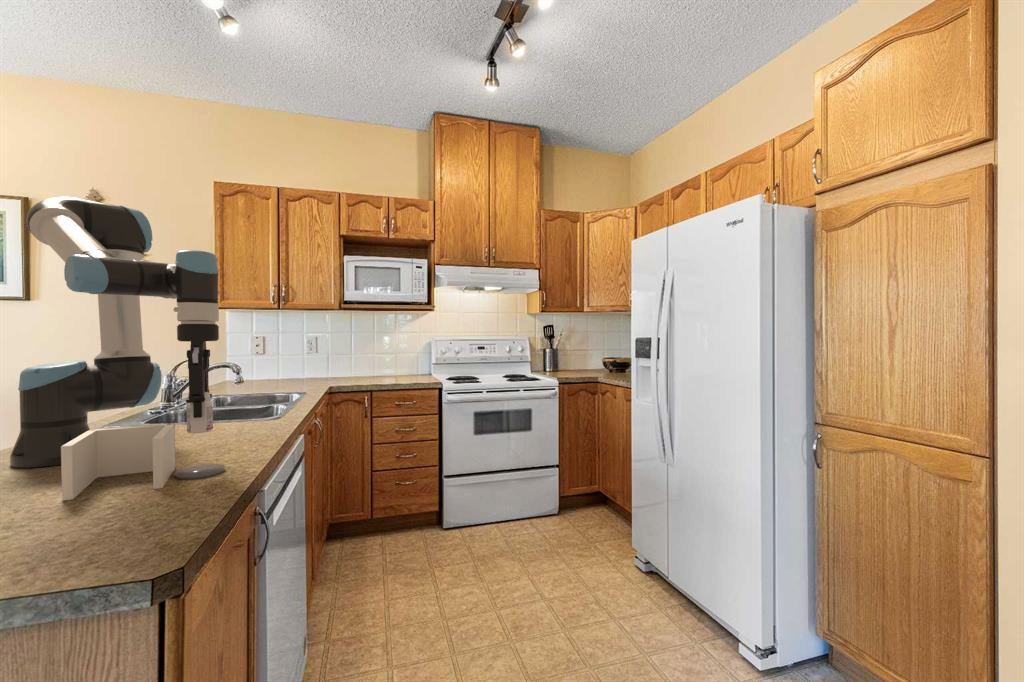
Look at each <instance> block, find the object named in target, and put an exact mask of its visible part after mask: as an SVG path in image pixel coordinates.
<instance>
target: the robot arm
mask: <svg viewBox="0 0 1024 682" xmlns="http://www.w3.org/2000/svg"><path fill="white" fill-rule="evenodd" d="M25 219H26V220H25V223H26V226H27V228H28V231H29V232H30V233H31V235H33V237H34V238H36V240H38V241H39V242H40V243H42V244H44V245H47V246H49V247H50V248H51V250H53V251H54V252H55V253H56V254H57V255H58V256H59V258H60V259H61V260H62V261H63V262H64V263H65V264H64V268H63V269H64V271H63V275H64V281H65V282H66V283H65V284H66V286H67V288H68V289H69V290H71V291H72V292H76V293H85V294H89V295H97V302H98V303H97V304H98V305H97V306H98V319H99V321H98V322H99V334H100V335H99V336H100V352H99V353H98V354H97V355H96V356H95V357H94V358H93V365H88V363H87V361H86V360H82V359H81V360H77V359H76V360H69V361H66V360H65V361H58V362H57V361H56V362H50V363H43V364H39V365H38V364H37V365H33V366H29V367H26V368H24V369H23V370H22V371H21V372H20V375H19V380H18V381H19V383H18V388H17V390H18V391H19V421H20V422H19V423H20V426H19V427H20V429H19V430H20V431H19V434H18V437H17V439H16V442H15V443H14V446H13V449H12V451H11V454H9V455H10V456H9V461H10V462H9V463H10V464H9V465H10V466H11V467H13V468H21V469H23V468H24V469H26V468H28V469H30V468H42V467H43V468H44V467H52V466H59V465H61V446H63V445H64V444H66V443H68V442H69V441H71V440H73V439H75V438H76V437H78V436H80V435H81V434H83V433H85V432H86V431H88V430H91V428H90V426H89V424H88V413H91V412H100V411H108V410H109V411H111V410H118V409H126V408H128V409H129V408H131V409H132V408H136V407H140V406H147V405H149V404H152V403H153V402H154V401H155V400H156V398H157V397H158V395H159V393H160V389H161V386H162V379H163V378H162V377H163V375H162V370H161V367H160V365H159V364H158V363H157V362H154V361H151V360H152V359H151V355H150V354H149V353H147V352H146V351H145V350H144V349H143V348H144V346H143V345H144V344H143V343H144V342H143V331H142V329H143V327H142V314H141V300H140V299H141V298H140V296H141V297H155V298H157V297H159V298H163V299H176V306H177V307H176V306H175V307H174V308H173V312H174V313H177V315H176V319H177V321H178V322H180V324H179V323H178V324H177V325H176V327H177V328H176V340H177V341H178V342H189V343H190V347H189V348H190V349H188V350H186V358H187V369H188V394H189V399H185V403H186V404H187V403H190V420H191V433H190V434H192V433H195V434H203V433H202V432H204V433H207V432H206V401H205V392H210V390H209V388H210V387H209V369H210V357H211V349H207V342H216V341H218V340H219V339H220V333H219V332H220V331H219V330H220V329H219V328H220V327H219V325H218V324H217V322H219V319H220V317H219V315H220V314H219V313H220V312H219V309H220V308H219V306H220V305H219V269H218V268H219V267H218V259H217V258H218V257H217V256H216V255H215V254H214V253H212V252H209V251H204V250H191V249H190V250H189V249H188V250H187V249H185V250H179V251H177V252H176V254H175V261H174V263H166V262H165V263H164V262H155V261H146V260H142V259H144V258H145V255H144V254H145V253H148V252H149V251H150V250H151V248H152V245H153V244H152V242H153V230H152V227H151V224H150V221H149V219H148V217H147V216H146V215H145V214H144V213H143V212H142V211H140V210H139V209H135V208H131V207H126V206H124V205H118V204H117V205H115V204H109V203H104V202H99V201H93V200H88V199H81V198H78V197H70V196H59V197H58V196H57V197H50V198H45V199H44V200H40V201H38V202H37V203H35V204H34V205H33V206H32V207H31V208H30V209H29V210H28V212H27V214H26V217H25ZM212 397H213V393H210V398H212Z"/></svg>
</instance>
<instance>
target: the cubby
mask: <svg viewBox="0 0 1024 682" xmlns="http://www.w3.org/2000/svg"><path fill="white" fill-rule="evenodd" d="M176 458H177V457H176V423H163V424H162V423H161V424H149V425H137V426H123V427H122V426H121V427H110V428H98V429H90V430H88V431H86V432H85V433H83V434H81V435H80V436H78V437H76V438H75V439H73V440H71V441H69V442H68V443H66V444H64V445H63V446H61V464H60V465H61V466H60V467H61V500H62V501H63V502H64V501H70V500H71V501H72V500H74V499H75V498H76V497H77V496H78V495H80V493H82V492H83V491H84V490H85V489H86V488H87V487H88V486H89V485H91V484H92V483H93V481H95V480H96V479H98V478H105V477H113V476H122V475H133V474H140V473H149V472H152V479H153V480H152V481H153V483H152V486H153V487H152V488H153V490H156V489H157V490H159V489H163V488H164V487H165V485H166V484H167V482H168V480H169V478H170V477H171V476H172V474H173V472H174V471H175V469H176V467H177V466H176V464H177V463H176V461H177V460H176Z"/></svg>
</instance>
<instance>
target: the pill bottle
mask: <svg viewBox="0 0 1024 682" xmlns="http://www.w3.org/2000/svg"><path fill="white" fill-rule="evenodd" d="M210 394H211V392H210V391H209V392H205V401H206V432H202V433H201V434H203V433H209V432H211V431H213V429H214V414H213V413H214V411H213V410H214V409H213V408H214V407H213V402H212V401H211V400H210V399H211V397H210ZM187 400H189V393H188V395H187ZM185 406H186V432H187V433H188V434H192V435H193V434H196V433H191V420H190V403H186V405H185Z"/></svg>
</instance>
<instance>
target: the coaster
mask: <svg viewBox="0 0 1024 682" xmlns="http://www.w3.org/2000/svg"><path fill="white" fill-rule="evenodd" d="M223 472H225V465H224V464H223V463H203V464H202V463H201V464H195V465H190V466H186V467H183V468H180V469H177V470H176V471H175V472H174V477H175V479H177V480H183V481H184V480H186V481H187V480H188V481H189V480H190V481H191V480H199V479H200V480H201V479H207V478H211V477H215V476H217V475H220V474H222V473H223Z"/></svg>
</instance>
